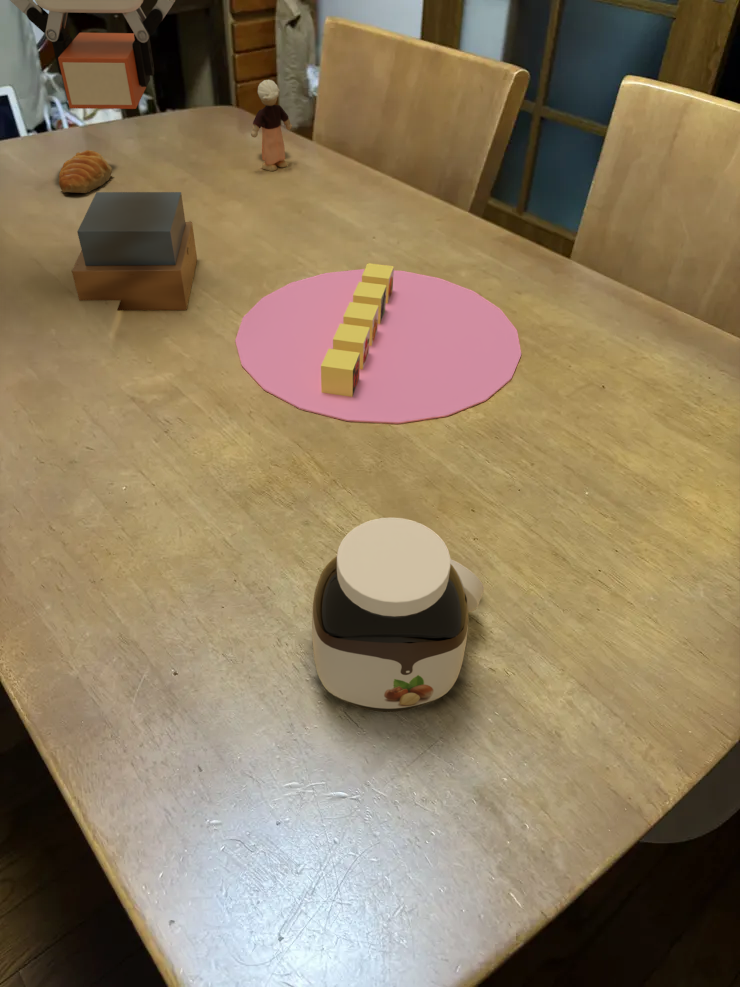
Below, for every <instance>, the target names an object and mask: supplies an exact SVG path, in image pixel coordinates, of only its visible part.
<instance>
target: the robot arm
mask: <svg viewBox="0 0 740 987" xmlns="http://www.w3.org/2000/svg"><path fill="white" fill-rule="evenodd" d="M9 1H10V2H11V3H12V4H13V5H14V6H15V7H16V8H17V9H18V10H20V12H22V13H23V14H25V16H26V18H27V19H28V20H29V21H30V22H31V24H33V25H34V26H35V27H36V28H38V29H39V31H41V32H42V33H43V34H44V35H45V37H46V39H48V41H50V42H51V44H52V48H53V52H54V56H55V61H56V66H57V69H58V73H59V75H60V76H62V73H61V69H60V64H59V60H58V57H59V56H60V55H61V54H62V53H63V52H64V50H65V49H66V48H67V47H68V46H69V45H70V43H71V42H72V41H73V38H72V36H70V34H68V33H67V29H66V25H67V20H68V14H69V13H76V14H77V13H79V14H81V13H84V14H85V13H86V14H122V15H123V17H124V18H125V20H126V22H127V24H128V25H129V27H130V29H131V30H132V32H133V33H134V38H135V40H134V42H133V44H132V47H133V51H134V57H135V63H136V69H137V75H138V81H139V85H141V87H146V88H147V87H148V85H149V84H150V81H151V77H152V76H153V77H154V75H155V64H154V57H153V52H152V45H151V39H150V38H151V37H152V36H153V34H154V32H155V31H156V29H157V28H158V27H159V26H160V24H161V23H162V22H163V20H164V19H165V17H166V15H167V14H168V13H169V11H170V10H171V8H172V6H173V5H174V4H175V2H176V0H157V1H156V2H155V4H154V6H153V7H152V8H151V11H150V12H149V13H148V15H147V16H146V15H145V13H144V11H143V9H142V7H141V6H142V4H143V3H144V0H9ZM47 11H48V12H47Z"/></svg>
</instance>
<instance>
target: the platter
mask: <svg viewBox="0 0 740 987" xmlns="http://www.w3.org/2000/svg"><path fill="white" fill-rule="evenodd" d="M518 333H519V332H518V329H517V328H516V327H515V325H514V324H513V323H512V322H511V320H510V319H509V318H508V317H507V315H506V314H505V313H504V311H503V310H502V309H501V308H500V307H499V306H497V305H495V304H494V303H493V302H491V301H489V300H488V299H486V297H483V296H482V295H481V294H479V293H477V292H476V291H475V290H472V289H470V288H467V287H464V286H462V285H459V284H457V283H454V282H451V281H449V280H446V279H443V278H440V277H437V276H432V275H426V274H421V273H416V272H411V271H406V270H395V265H386V264H378V263H370V262H367V263H366V266H365V268H361V269H351V270H341V271H332V272H324V273H321V274H317V275H313V276H310V277H306V278H303V279H298V280H295V281H291V282H290V283H287V284H286V285H284V286H282V287H280V288H278V289H276V290H274V291H273V292H270V293H268V294H267V295H265V296H263V297H261V298H260V299H259V300H258V301H257V302H256V303H255V305H253V306H252V307H251V308H250V310H248V311H247V312H246V314H244V315H243V316H242V319H241V322H240V325H239V327H238V331H237V334H236V337H235V340H234V341H235V342H234V343H235V345H236V350H237V353H238V357H239V361H240V365H241V367H242V369H243V370H244V371H245V372H246V373H247V374H248V375H249V376H250V377H251V378H252V379H253V380H254V381H255V383H256V384H258V385H259V387H260V388H262V389H263V391H265V392H267V393H269V394H271V395H272V396H274V397H276V398H278V399H280V400H281V401H284V402H286V403H287V404H290V406H293V407H295V408H296V409H299V410H301V411H305V412H309V413H313V414H316V415H321V416H324V417H329V418H333V419H337V420H341V421H345V422H351V423H352V422H355V423H373V424H374V423H376V424H396V425H399V424H400V425H401V424H407V423H412V422H419V421H420V422H421V421H426V420H433V419H438V418H439V419H441V418H447V417H449V416H451V415H454V414H457V413H459V412H461V411H465V410H466V409H469V408H472V407H474V406H477V405H479V404H481V403H484V402H486V401H487V400H489V399H490V398H491V397H493V395H494V394H496V393H497V392H498V391H499V390H501V389H502V388H503V387H504V386H506V385H507V383H509V382H510V381H511V380H512V379H513V376H514V374H515V372H516V369H517V367H518V364H519V362H520V360H521V357H522V351H521V343H520V339H519V334H518Z"/></svg>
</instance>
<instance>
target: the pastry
mask: <svg viewBox="0 0 740 987" xmlns="http://www.w3.org/2000/svg"><path fill="white" fill-rule="evenodd" d="M112 173H113V168H112V166H111V165H109V163H108V161H107V160H106V159H105V158H104V157H103V156H102V154H101V153H99V152H97V151H94V150H89V149H86V150H84V151H80V152H79V151H78V152H76V153H75V155H74V156H72V157H71V158H70V159H68V160H66V161H65V162H64V163H63V164H62V166H61V168H60V171H59V173H58V174H59V175H58V185H59V187H60V190H61V191H62V193H77V194H87V193H91V191H93V190H97V189H98V188H100V187H101V186H104V184H106V182H108V181H109V180H110V179H111V175H112Z"/></svg>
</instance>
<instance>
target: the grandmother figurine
mask: <svg viewBox="0 0 740 987" xmlns="http://www.w3.org/2000/svg"><path fill="white" fill-rule="evenodd" d="M280 92H281V90H280V89H279V86H278V85H277V84H276V82H275V81H274V80H273V79H264V80H263V81H261V82H259V84H258V86H257V94H258V97H259V99H260V101H261V103H262V104H263V105H264V107H263V108H261V109H258V111H257V112H256V115H255V116H254V119H253V121H252V128H251V131H250V136H251V138H257V137H258V134H259V131H260V129H261V134H262V135H261V161H263V163H262V164H261V169H262V170H266V171H270V172H274V171H275V172H276V171H277V170H278V167H279V168H286V167H288V163H287V162H286V161H285V160H286V150H285V149H286V148H285V142H284V138H283V130H282V127H281V124H282V123H281V121H282V122H283V125H285V129H286V130H287V131H291V130H292V129H293V124H291V121H290V118H289V115H288V113H287V112H286V111H285V109H284V108H283V107H282V106H281V105H280V104H276V103H277V101H278V98H279V97H280Z"/></svg>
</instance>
